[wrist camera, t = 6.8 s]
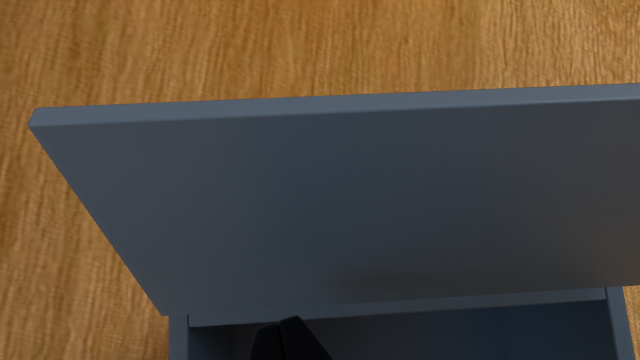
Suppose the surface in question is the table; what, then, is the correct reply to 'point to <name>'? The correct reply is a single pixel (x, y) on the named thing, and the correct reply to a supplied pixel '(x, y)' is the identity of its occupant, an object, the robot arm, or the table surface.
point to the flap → (360, 194)
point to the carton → (431, 328)
